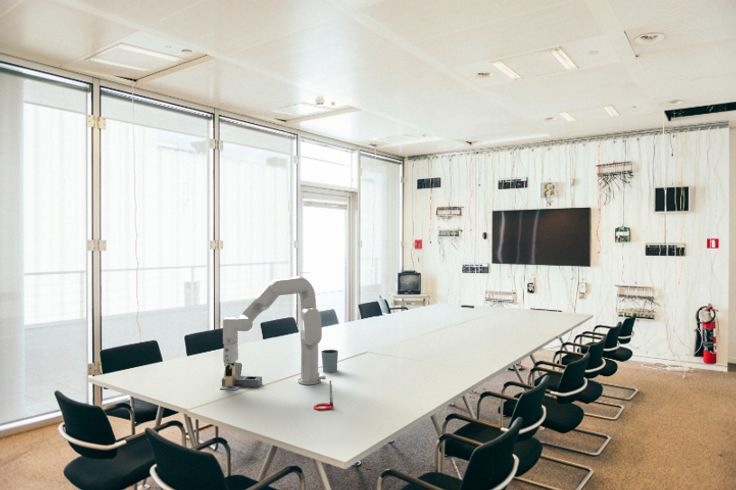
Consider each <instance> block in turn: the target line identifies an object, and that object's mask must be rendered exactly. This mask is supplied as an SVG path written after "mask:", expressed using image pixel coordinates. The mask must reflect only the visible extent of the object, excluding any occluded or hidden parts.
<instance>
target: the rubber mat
mask: <svg viewBox="0 0 736 490" xmlns="http://www.w3.org/2000/svg"><path fill="white" fill-rule="evenodd" d="M240 388H241V387H240V386H221V387H220V391H222V390H223V391H238V390H239V389H240Z"/></svg>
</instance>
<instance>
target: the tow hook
mask: <svg viewBox="0 0 736 490" xmlns="http://www.w3.org/2000/svg"><path fill="white" fill-rule="evenodd" d="M328 387H329V389H328V390H329V402H327V403H325V402H322V403H316V404H314V405H313V409H314V410H315V411H327V410H331V411H333V409H334V399H333V385H332V380H329V386H328ZM323 406H325V407H323Z"/></svg>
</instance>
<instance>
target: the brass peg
mask: <svg viewBox="0 0 736 490" xmlns="http://www.w3.org/2000/svg"><path fill="white" fill-rule="evenodd" d="M231 369H232V376H226V369H224V373H225V386H233V385H235V365H231Z"/></svg>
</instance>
